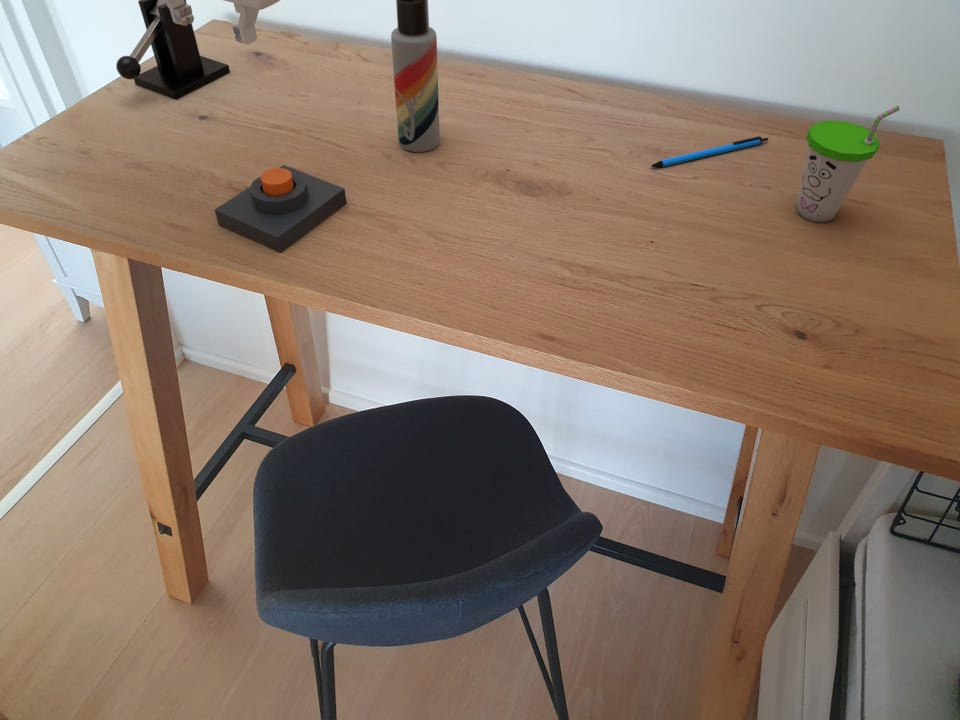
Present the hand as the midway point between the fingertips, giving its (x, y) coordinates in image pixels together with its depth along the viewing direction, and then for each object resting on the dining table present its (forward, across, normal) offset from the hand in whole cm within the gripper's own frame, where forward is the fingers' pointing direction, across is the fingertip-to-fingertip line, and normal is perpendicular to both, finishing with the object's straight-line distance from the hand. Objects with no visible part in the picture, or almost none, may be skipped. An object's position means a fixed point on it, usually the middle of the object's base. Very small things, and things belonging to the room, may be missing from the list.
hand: (215, 32), depth 84 cm
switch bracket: (+20, -30, +17) cm, 40 cm away
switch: (+13, -30, +13) cm, 36 cm away
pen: (+20, +47, +39) cm, 64 cm away
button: (+16, +8, -2) cm, 18 cm away
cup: (+20, +63, +33) cm, 74 cm away
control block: (+20, +8, -2) cm, 21 cm away
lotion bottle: (+20, +12, +20) cm, 31 cm away
